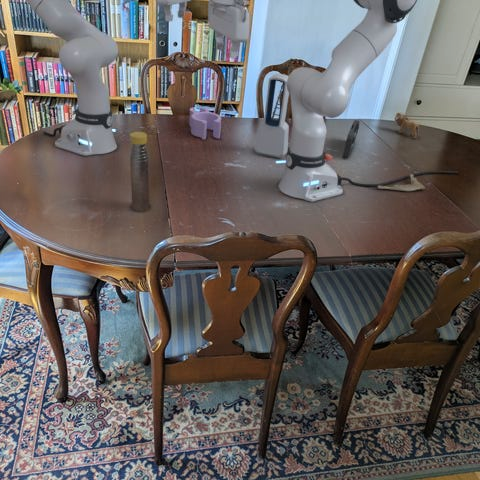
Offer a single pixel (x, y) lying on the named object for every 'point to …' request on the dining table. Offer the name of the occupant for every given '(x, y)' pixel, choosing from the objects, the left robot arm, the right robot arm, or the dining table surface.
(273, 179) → the dining table surface
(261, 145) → the electronic device
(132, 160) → the bottle
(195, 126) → the clip
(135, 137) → the cap
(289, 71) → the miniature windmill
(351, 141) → the handheld gaming console
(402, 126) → the lion figurine
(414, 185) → the jawbone
